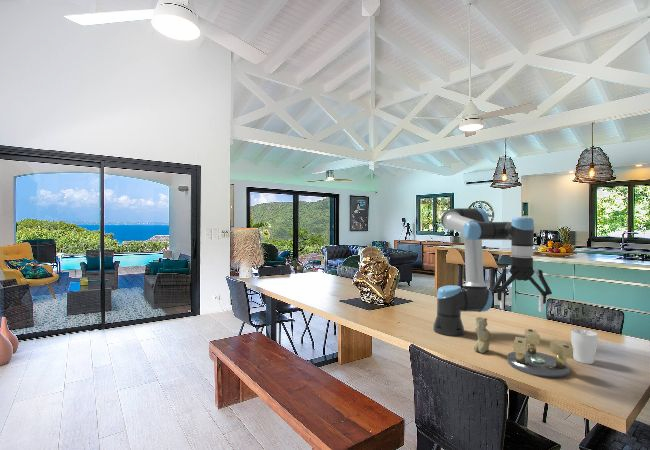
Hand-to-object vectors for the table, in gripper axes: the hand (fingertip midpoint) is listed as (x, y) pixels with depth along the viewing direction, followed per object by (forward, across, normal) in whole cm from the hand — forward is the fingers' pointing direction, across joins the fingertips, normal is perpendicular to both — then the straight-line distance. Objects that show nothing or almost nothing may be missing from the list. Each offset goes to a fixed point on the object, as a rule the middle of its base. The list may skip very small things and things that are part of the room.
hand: (520, 310), depth 135 cm
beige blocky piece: (+20, -7, -12) cm, 24 cm away
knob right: (+20, -14, 0) cm, 25 cm away
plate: (+23, -7, -4) cm, 24 cm away
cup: (+23, -27, -16) cm, 39 cm away
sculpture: (+23, +12, -14) cm, 29 cm away
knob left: (+20, 0, 0) cm, 20 cm away
